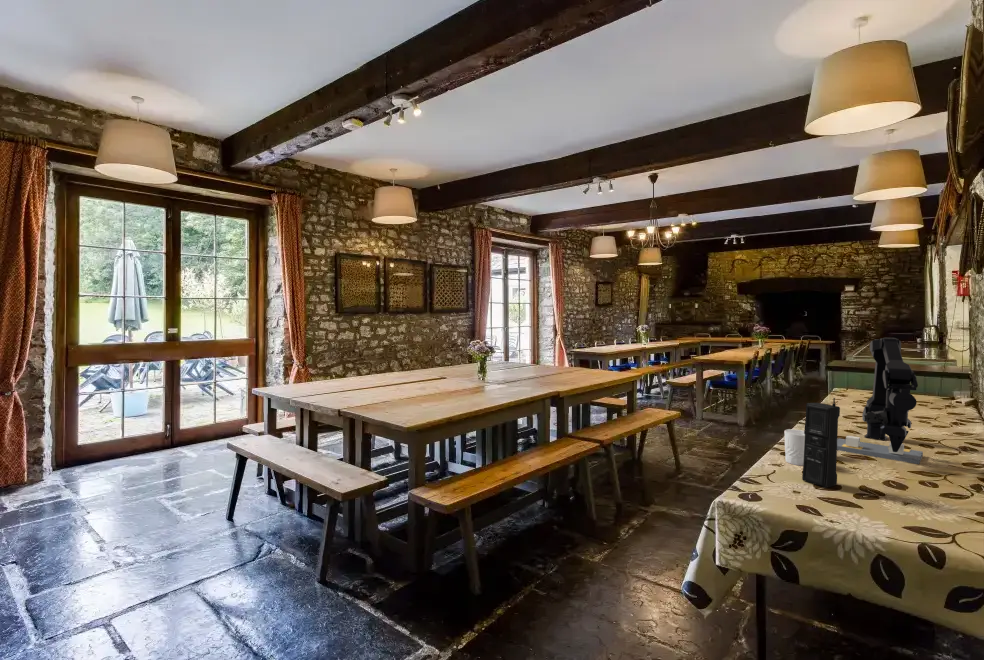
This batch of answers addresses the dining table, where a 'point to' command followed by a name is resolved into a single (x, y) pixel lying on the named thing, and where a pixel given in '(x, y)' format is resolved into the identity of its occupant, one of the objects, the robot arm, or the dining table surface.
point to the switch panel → (880, 451)
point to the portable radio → (821, 444)
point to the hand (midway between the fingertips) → (895, 451)
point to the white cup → (794, 446)
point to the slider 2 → (900, 451)
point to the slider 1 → (852, 441)
